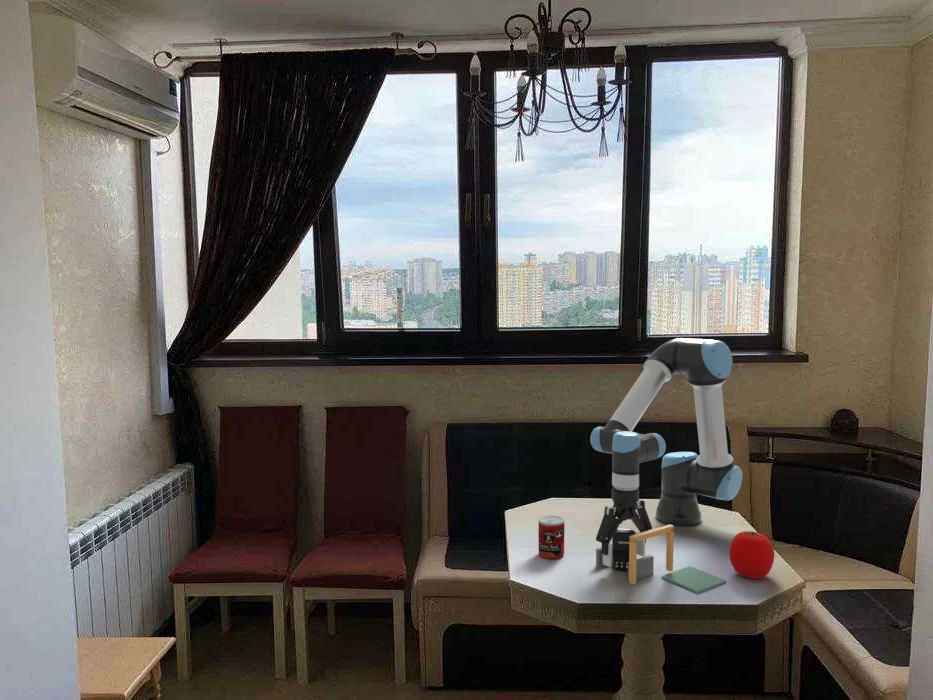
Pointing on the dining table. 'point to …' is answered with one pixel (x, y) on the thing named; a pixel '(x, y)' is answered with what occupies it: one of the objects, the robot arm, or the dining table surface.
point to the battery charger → (621, 548)
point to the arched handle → (644, 535)
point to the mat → (693, 579)
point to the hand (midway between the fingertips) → (624, 560)
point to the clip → (642, 564)
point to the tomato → (751, 554)
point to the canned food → (551, 537)
